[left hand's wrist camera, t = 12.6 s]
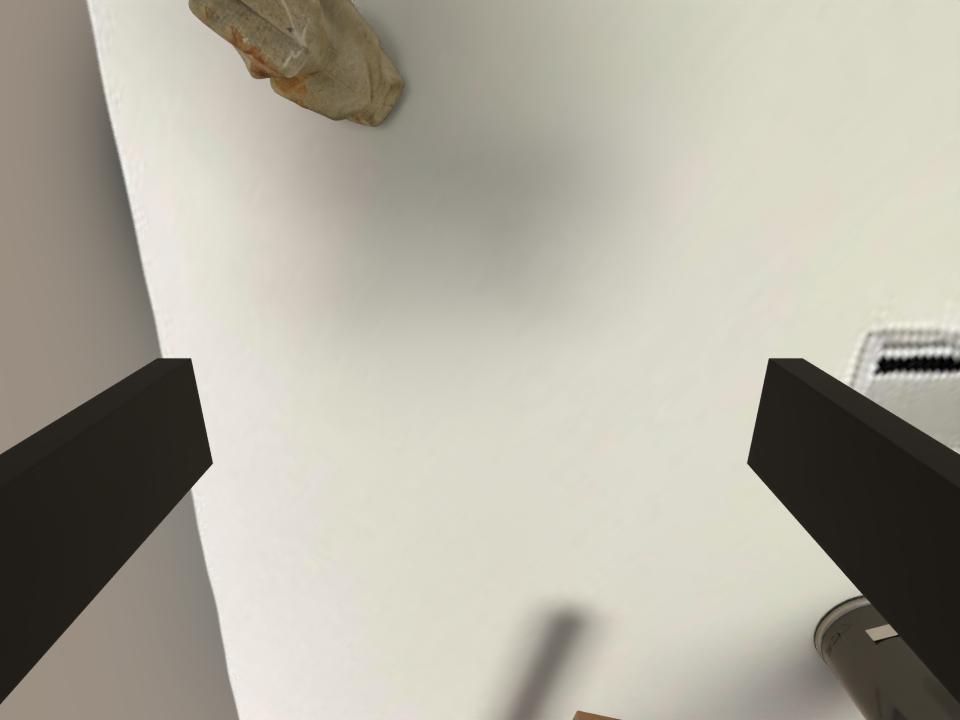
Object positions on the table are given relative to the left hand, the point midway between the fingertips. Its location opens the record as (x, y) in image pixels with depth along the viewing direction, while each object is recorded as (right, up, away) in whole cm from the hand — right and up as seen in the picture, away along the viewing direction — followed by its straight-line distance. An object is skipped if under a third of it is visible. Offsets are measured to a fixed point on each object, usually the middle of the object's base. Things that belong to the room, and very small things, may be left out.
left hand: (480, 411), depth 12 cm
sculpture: (-8, +20, +23) cm, 32 cm away
